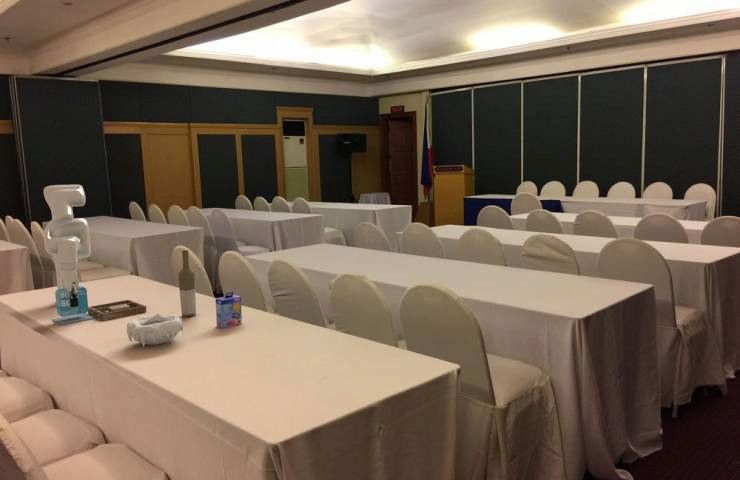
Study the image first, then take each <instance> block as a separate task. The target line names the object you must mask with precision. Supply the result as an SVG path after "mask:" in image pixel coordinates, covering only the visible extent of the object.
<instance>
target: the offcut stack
mask: <svg viewBox="0 0 740 480" xmlns="http://www.w3.org/2000/svg"><path fill="white" fill-rule="evenodd" d="M108 309H109V311H105V313H109V312H114V311H120V310H125V309H130V306H129V305H127V304H124V305H118V306H112V307H108Z"/></svg>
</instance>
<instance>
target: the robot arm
mask: <svg viewBox="0 0 740 480" xmlns="http://www.w3.org/2000/svg"><path fill="white" fill-rule="evenodd" d="M43 196H44V199H45V201H46V203H47V205H48V206H49V209H50V211H51V218H52V219H51V220H49V222H48V223H47V225H46V226H45V228H44V231H43V243H44V249H45V251H46V253H48V254H50V255H52V256H53V261H54V267H55V275H56V284H57V290H58V289H62V288H63V289H65V290H66V292H68V293H69V292H70V298H71V299H70V307H71V308H72V307H78V290H79V286H80V282H79V275H78V269H79V259H86V258H89V257H90V256H91V253H92V248H91V247H92V246H91V239H90V238H91V237H90V235H91V234H90V228H89V227H90V226H89V223H88V221H87V219H85V218H81V217H80V218H79V217H77V218H74V212H73V207H84V206H85V204H86V193H85V191H84V187H83V186H82V185H80V184H55V185H48V186H46V187H44V188H43ZM52 233H53V234H54V237H51V235H52ZM71 290H74V291H72V292H71ZM72 293H73V294H72ZM55 305H56V301H55Z"/></svg>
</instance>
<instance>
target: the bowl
mask: <svg viewBox="0 0 740 480" xmlns="http://www.w3.org/2000/svg"><path fill="white" fill-rule="evenodd" d="M183 330H184V325H183V319H182V318H179V317H178V315H174V314H173V313H170V314H162V313H156V314H152V315H149V316H141V317H140V316H137V317H136V318H134V319H132V320H131V321H129V322H128V323H127V324H126V333H127V337H128V340H129V342H131V343H133V340H134V341H135V342H138V343H139V344H141V345H142V347H143V348H145V345H149V346H150V345H152V346H155V345H158V346H159V345H161V344H165V343H168V342H170V341H172V340H173V339H174V338H175V337H177V335H178V334H179V333H180V332H183Z"/></svg>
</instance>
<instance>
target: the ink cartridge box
mask: <svg viewBox="0 0 740 480" xmlns="http://www.w3.org/2000/svg"><path fill="white" fill-rule="evenodd" d="M234 293H235V292H234V291H231V292H226V293H225V296H221V297H216V298H215V315H216V316H215V317H216V318H215V319H216V326H217V327H219V328H220V329H225V328H226V329H227V328H230V327H233V325H234V326H237V325H236V324H239V325H241V324H240V323H242V324H243V321H242V319H243V317H242V314H243V313H242V296H239V295H237V294H234Z"/></svg>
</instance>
